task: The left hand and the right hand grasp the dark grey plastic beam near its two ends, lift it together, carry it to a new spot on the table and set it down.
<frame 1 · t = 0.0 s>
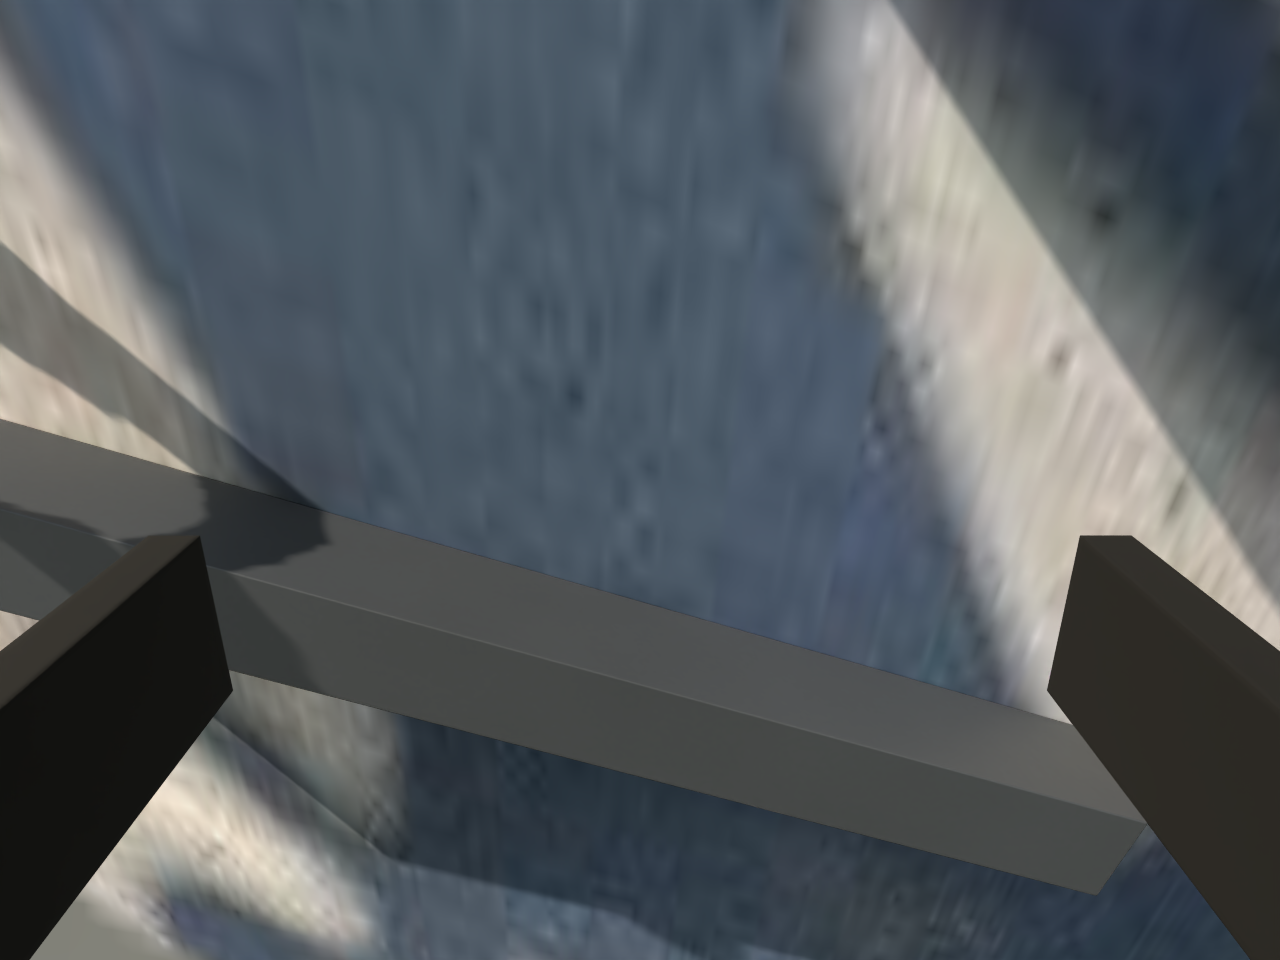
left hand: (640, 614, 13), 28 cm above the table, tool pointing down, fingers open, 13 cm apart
beam: (533, 613, 45), on the table
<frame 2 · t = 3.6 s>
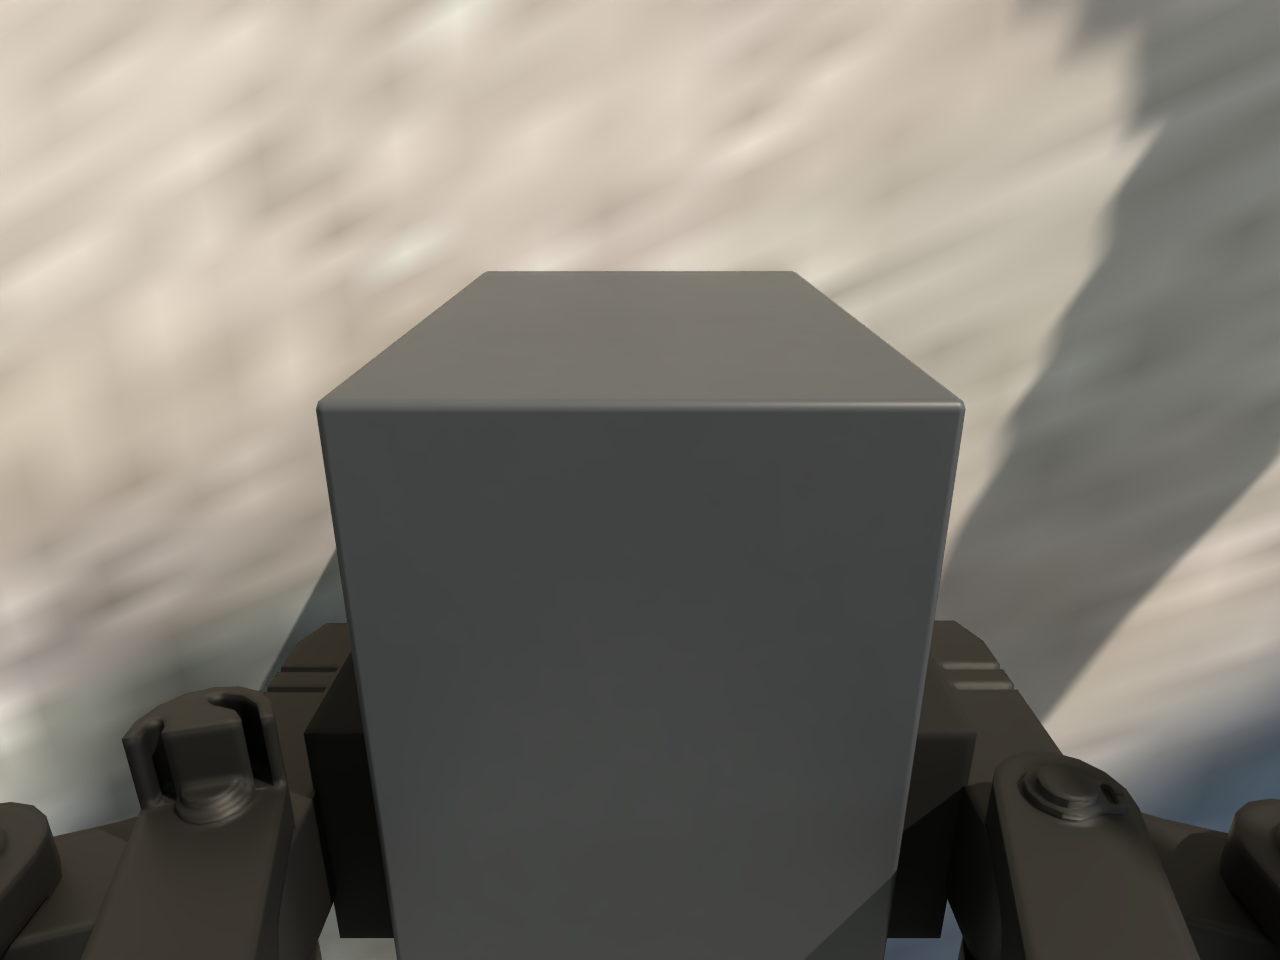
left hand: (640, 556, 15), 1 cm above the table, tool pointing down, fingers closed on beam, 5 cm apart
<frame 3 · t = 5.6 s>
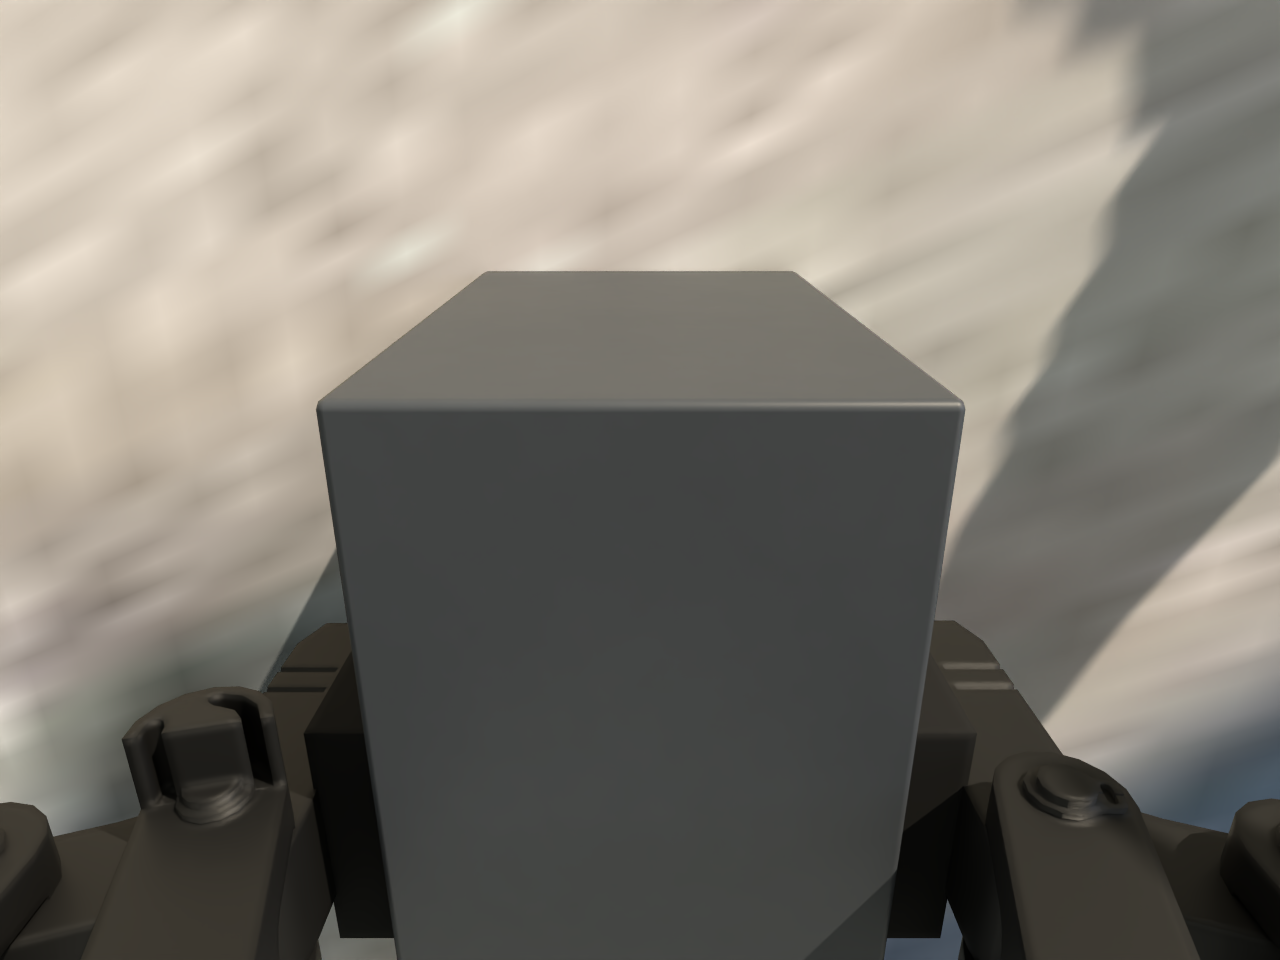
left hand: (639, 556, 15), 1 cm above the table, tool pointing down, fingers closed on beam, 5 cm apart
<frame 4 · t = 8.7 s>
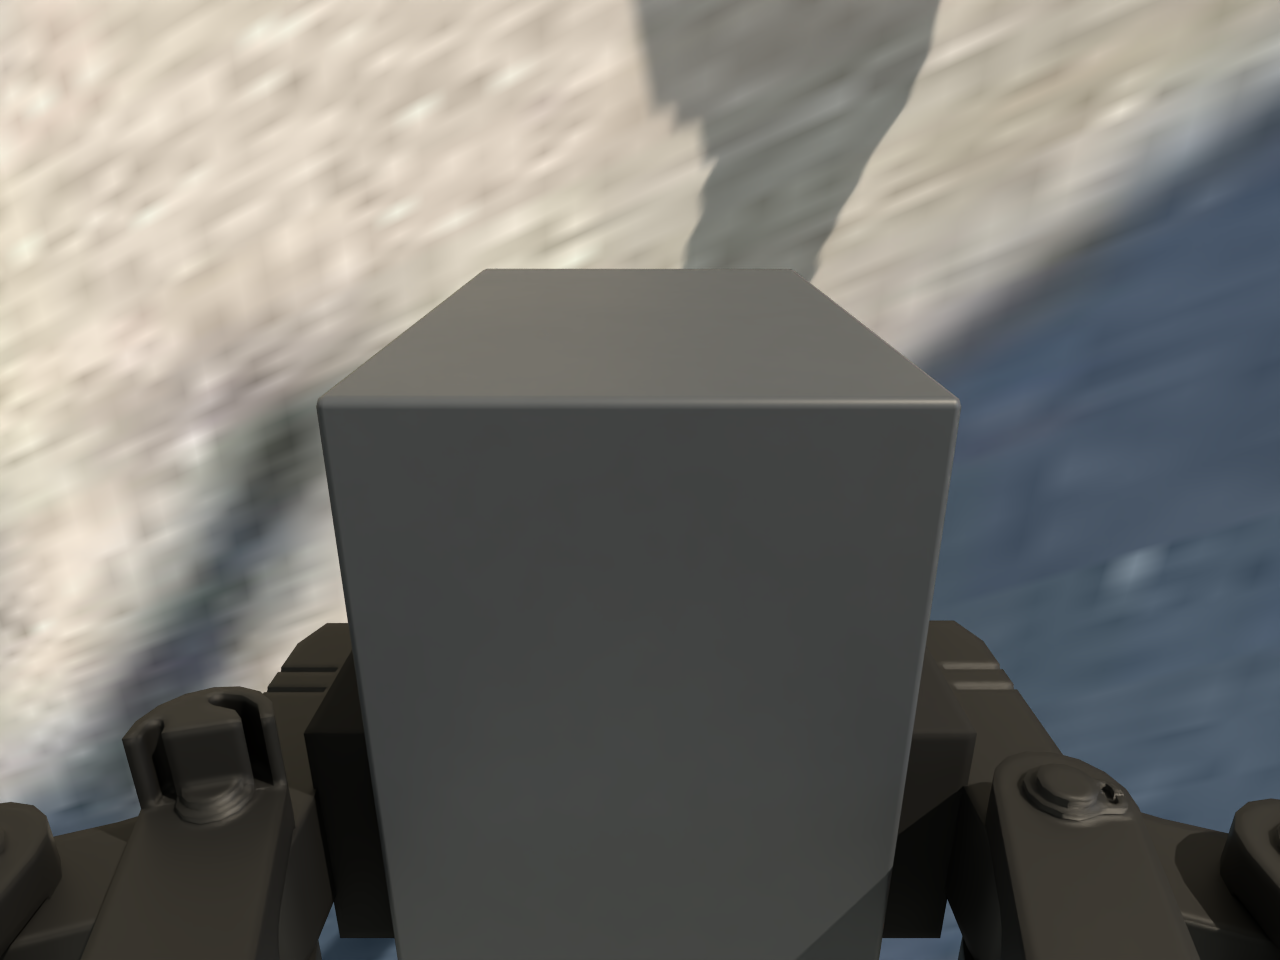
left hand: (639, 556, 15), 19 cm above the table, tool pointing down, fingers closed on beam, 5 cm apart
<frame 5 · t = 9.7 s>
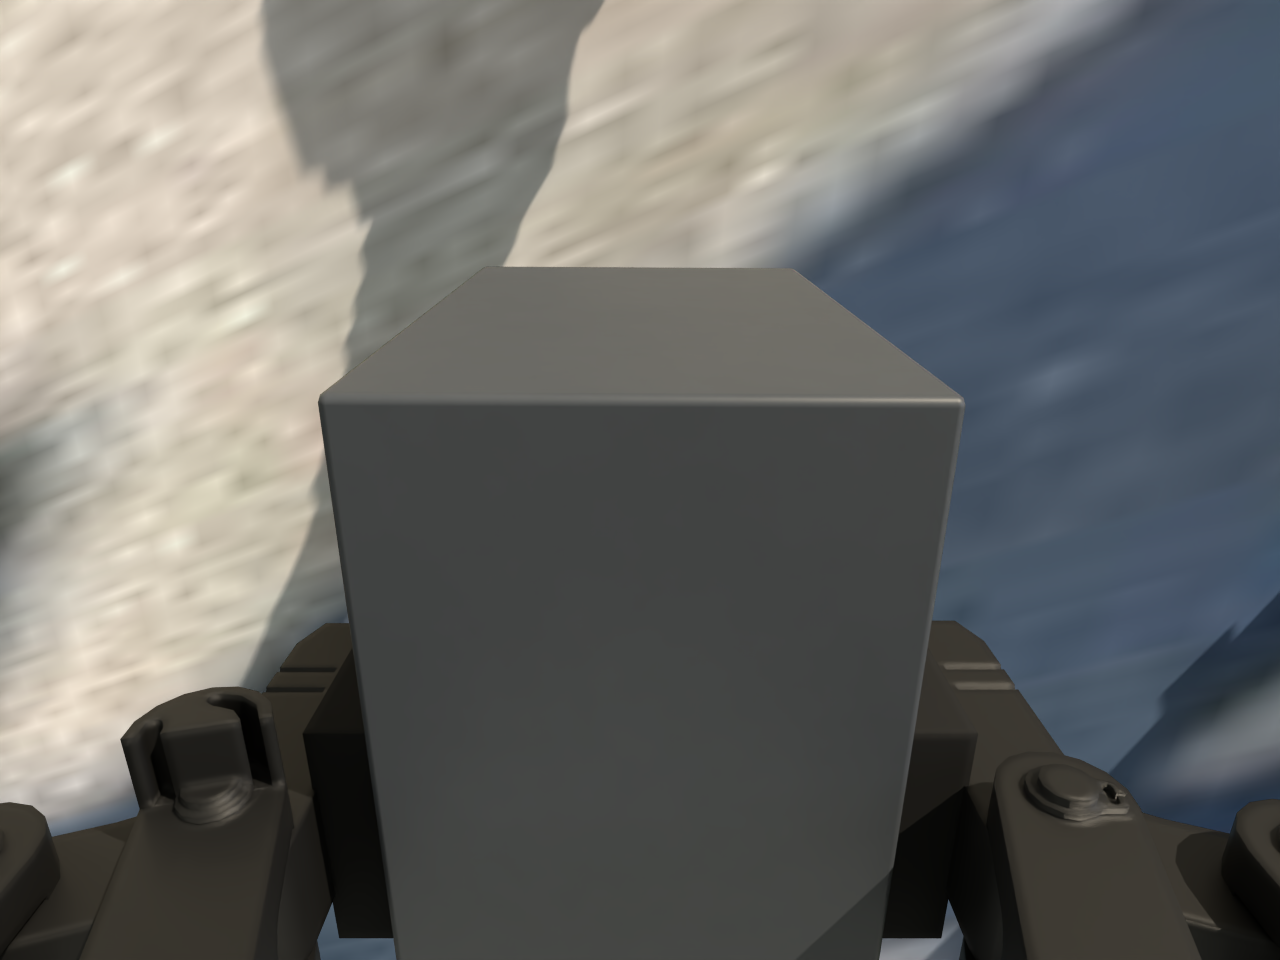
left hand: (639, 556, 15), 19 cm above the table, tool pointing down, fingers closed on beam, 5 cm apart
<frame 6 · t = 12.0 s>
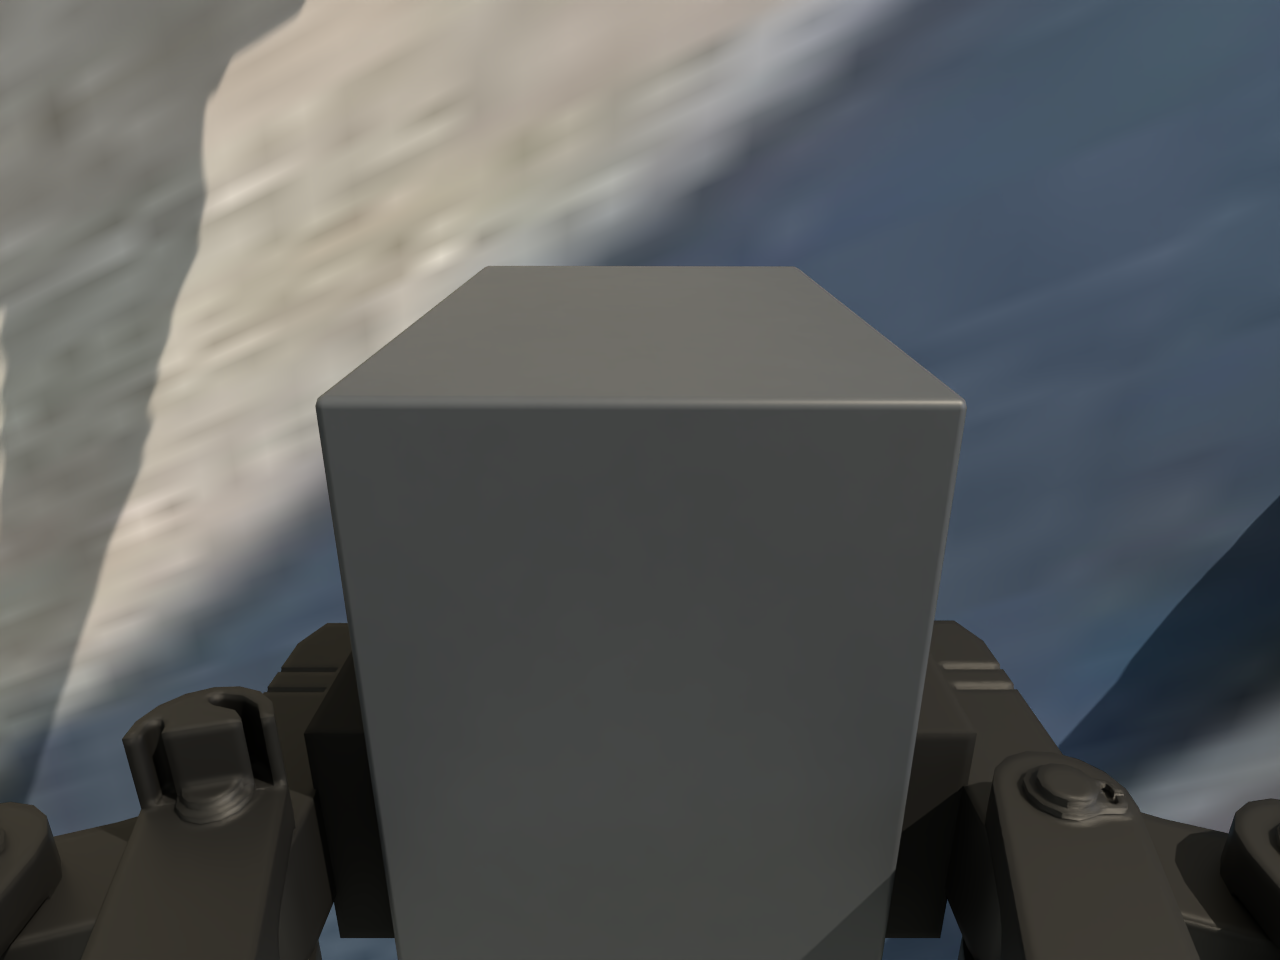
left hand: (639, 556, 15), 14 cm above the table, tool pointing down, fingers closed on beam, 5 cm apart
when the left hand's fingers open (2 cm above the table, at t = 13.7 s): beam drops 1 cm, on the table.
when the right hand's fingers open (4 cm above the table, at t = 13.9 s): beam stays where it is, on the table.
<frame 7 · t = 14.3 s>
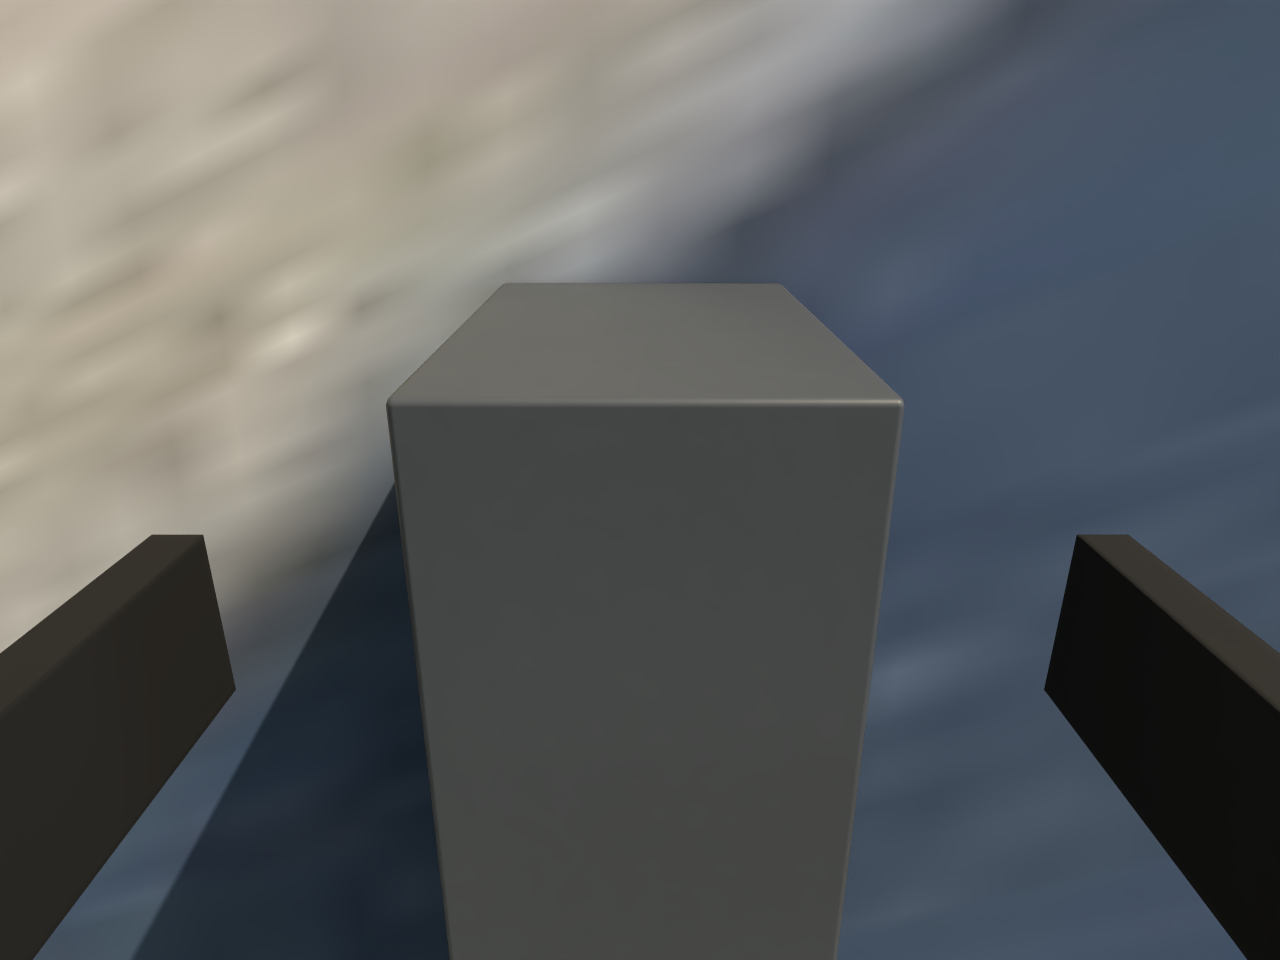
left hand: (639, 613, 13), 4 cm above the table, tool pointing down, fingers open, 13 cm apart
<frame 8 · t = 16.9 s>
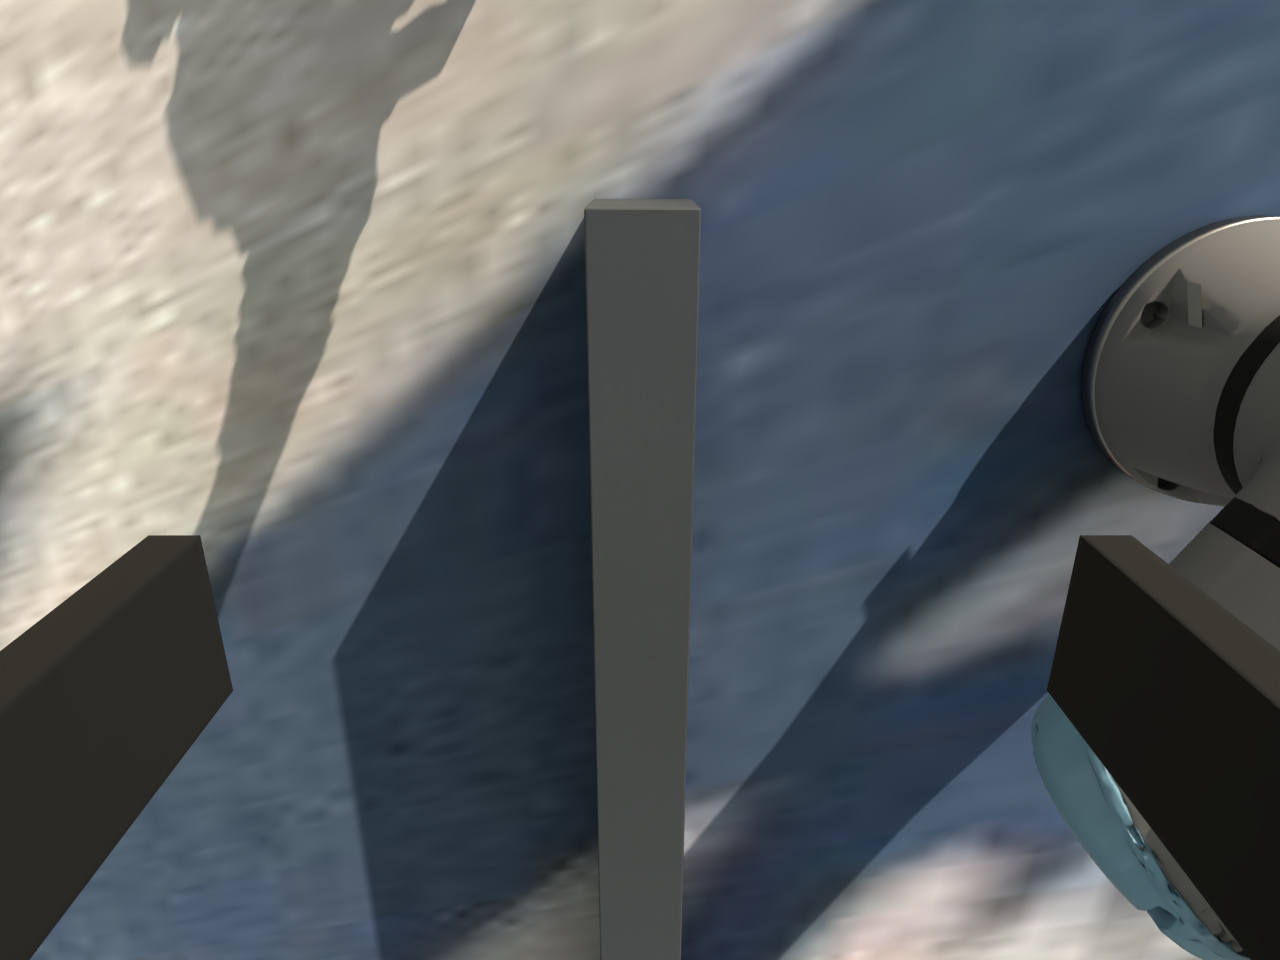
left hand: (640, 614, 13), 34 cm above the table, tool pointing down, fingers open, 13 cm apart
beam: (641, 706, 54), on the table
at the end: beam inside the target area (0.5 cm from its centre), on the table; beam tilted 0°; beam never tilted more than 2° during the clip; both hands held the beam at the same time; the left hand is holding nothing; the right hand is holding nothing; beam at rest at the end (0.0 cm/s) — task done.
